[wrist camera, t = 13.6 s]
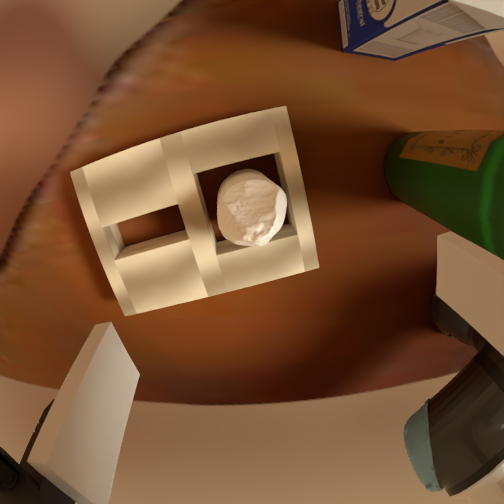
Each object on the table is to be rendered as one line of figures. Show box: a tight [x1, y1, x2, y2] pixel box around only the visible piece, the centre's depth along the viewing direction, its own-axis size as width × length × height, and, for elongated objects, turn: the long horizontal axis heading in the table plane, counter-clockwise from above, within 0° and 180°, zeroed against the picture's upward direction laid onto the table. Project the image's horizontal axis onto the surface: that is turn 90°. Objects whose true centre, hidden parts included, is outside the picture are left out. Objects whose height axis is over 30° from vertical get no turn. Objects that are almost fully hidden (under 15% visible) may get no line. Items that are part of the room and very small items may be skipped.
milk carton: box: [337, 0, 504, 61], centre depth 17 cm, size 7×7×20 cm
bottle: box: [384, 130, 504, 260], centre depth 19 cm, size 11×11×28 cm
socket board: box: [70, 106, 319, 316], centre depth 30 cm, size 16×21×4 cm
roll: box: [217, 169, 287, 246], centre depth 26 cm, size 6×12×6 cm
